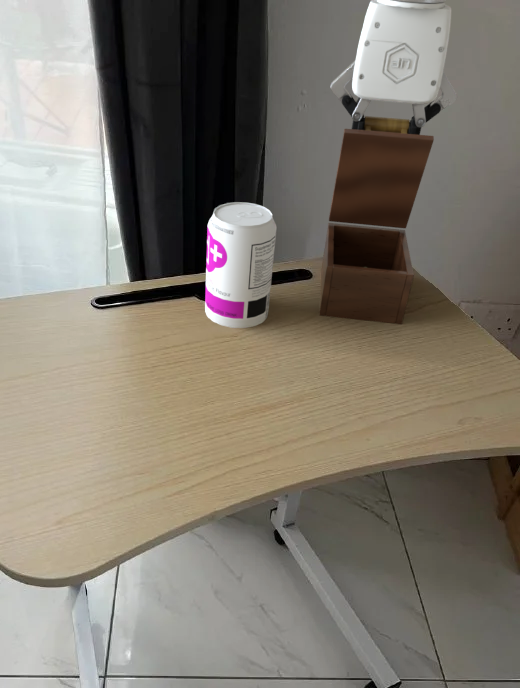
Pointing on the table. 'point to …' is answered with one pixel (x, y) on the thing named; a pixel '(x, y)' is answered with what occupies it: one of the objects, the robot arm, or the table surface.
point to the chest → (365, 273)
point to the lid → (379, 173)
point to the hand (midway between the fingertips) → (381, 152)
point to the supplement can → (239, 264)
